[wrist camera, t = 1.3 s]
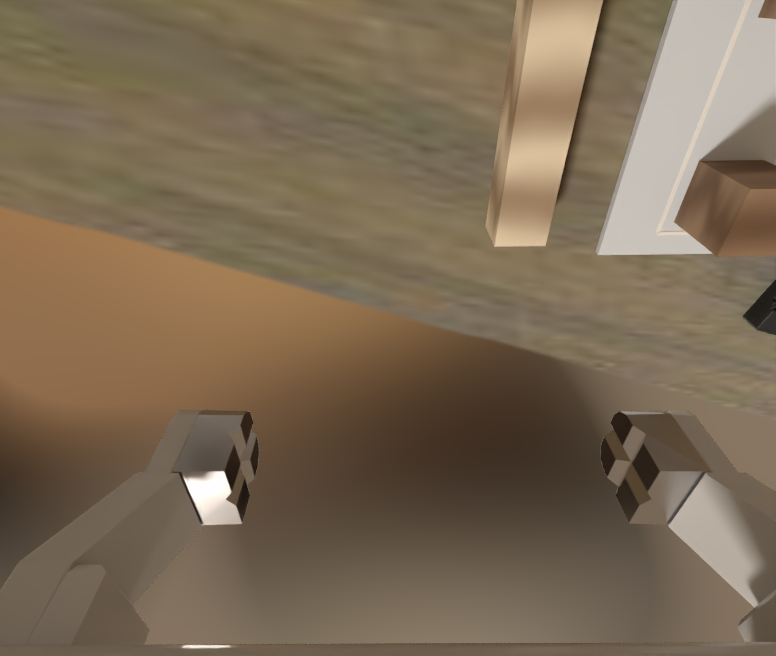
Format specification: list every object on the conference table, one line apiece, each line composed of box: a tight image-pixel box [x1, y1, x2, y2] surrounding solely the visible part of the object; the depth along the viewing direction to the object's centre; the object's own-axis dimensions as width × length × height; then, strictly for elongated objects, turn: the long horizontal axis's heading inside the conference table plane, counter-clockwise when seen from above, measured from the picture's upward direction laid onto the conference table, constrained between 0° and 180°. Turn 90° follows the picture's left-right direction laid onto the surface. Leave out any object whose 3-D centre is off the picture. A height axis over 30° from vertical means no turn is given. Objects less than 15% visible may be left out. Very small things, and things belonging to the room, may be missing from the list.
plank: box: [486, 0, 603, 246], centre depth 30 cm, size 20×4×4 cm, turn 0°
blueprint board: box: [596, 0, 776, 255], centre depth 32 cm, size 25×16×1 cm, turn 0°
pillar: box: [674, 160, 776, 257], centre depth 33 cm, size 5×5×6 cm
